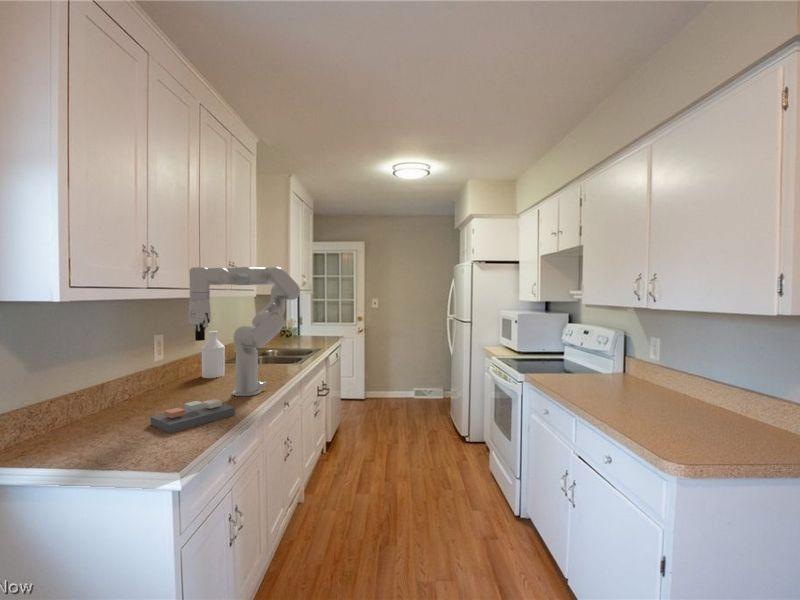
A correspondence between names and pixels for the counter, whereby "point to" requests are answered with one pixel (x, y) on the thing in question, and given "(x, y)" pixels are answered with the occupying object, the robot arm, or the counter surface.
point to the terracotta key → (174, 412)
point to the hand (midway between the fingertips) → (200, 340)
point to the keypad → (192, 418)
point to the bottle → (213, 357)
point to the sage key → (194, 405)
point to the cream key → (212, 403)
